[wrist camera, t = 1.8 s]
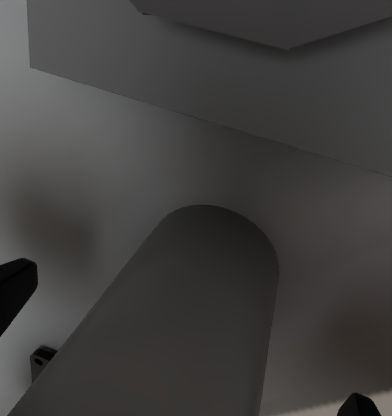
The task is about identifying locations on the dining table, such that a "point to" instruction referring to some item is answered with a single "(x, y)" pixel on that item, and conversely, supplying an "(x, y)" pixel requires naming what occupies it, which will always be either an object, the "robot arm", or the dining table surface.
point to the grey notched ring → (237, 65)
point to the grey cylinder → (172, 327)
